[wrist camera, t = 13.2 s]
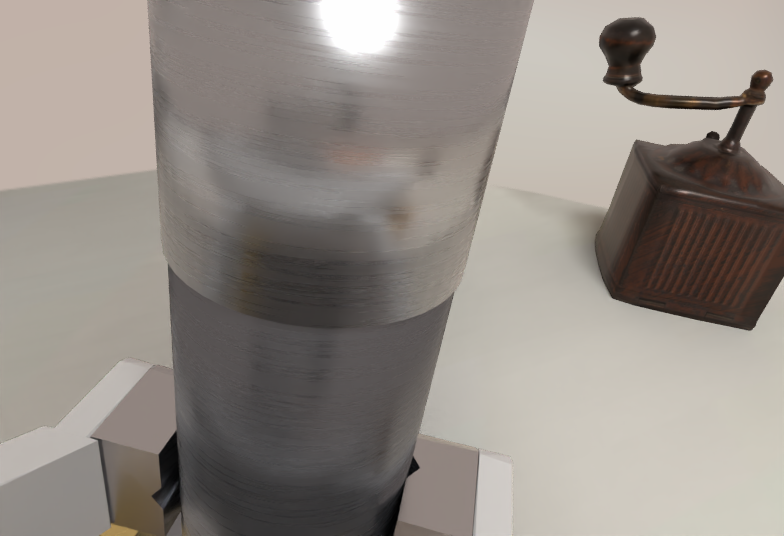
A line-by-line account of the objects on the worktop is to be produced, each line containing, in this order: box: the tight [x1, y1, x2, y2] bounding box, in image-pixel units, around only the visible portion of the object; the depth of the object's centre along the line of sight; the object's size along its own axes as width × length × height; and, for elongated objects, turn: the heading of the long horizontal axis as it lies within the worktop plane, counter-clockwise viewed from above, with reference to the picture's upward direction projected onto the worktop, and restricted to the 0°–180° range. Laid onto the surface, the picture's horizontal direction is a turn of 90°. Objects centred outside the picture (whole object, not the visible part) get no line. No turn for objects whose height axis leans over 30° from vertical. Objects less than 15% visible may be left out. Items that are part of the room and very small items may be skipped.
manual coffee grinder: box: [596, 17, 784, 330], centre depth 42 cm, size 16×11×18 cm
